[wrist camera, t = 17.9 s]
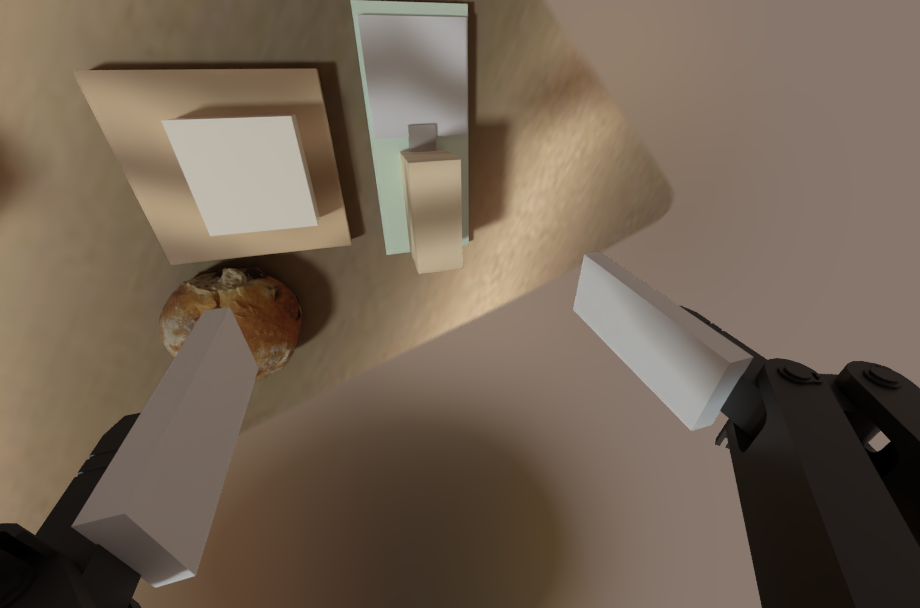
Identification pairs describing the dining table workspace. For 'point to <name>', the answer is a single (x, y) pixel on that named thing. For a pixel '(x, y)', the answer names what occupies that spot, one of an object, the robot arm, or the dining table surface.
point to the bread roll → (238, 313)
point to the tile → (245, 172)
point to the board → (213, 95)
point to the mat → (390, 148)
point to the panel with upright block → (421, 122)
